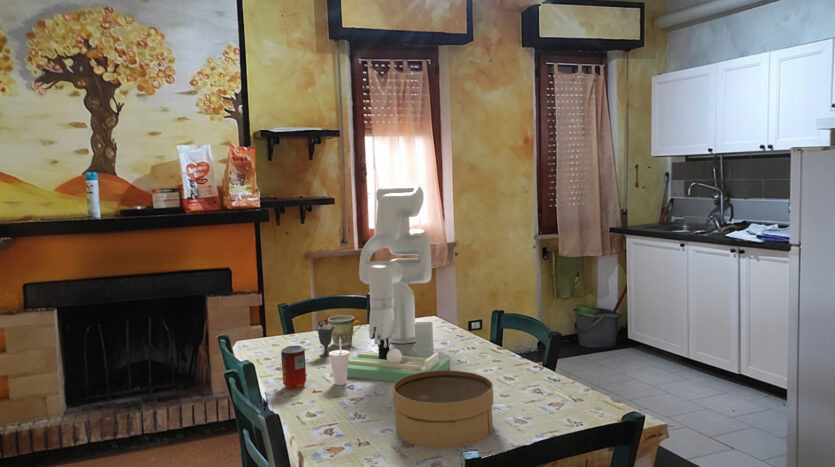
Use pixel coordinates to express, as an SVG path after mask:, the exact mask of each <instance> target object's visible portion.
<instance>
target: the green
mask: <svg viewBox="0 0 835 467" xmlns="http://www.w3.org/2000/svg"><path fill="white" fill-rule="evenodd" d="M439 354H440V353H439V352H434V354H433V355H432V356H431V357H419V356H416V355H407V354H406V355H404V354H402V360H401V362H400V363H398V364H395V363H389V362H388V361H387V360H383V359H379V352H367V351H362V352H358V353H357V354H356V355H355V356H352V357H351V358H350V359H349V358H348V372H347V378H351V379H352V378H354V379H361V380H363V379H365V380H372V381H373V380H375V381H384V382H392V383H393V382H394V383H396V382H397V381H398V380H400V379H401V378H404V377H406V376H409V375H412V374H416V373H421V372H428V371H442V370H445V371H449V369H451V359H450V358H442V357H441V358H440V357H439V356H440V355H439Z"/></svg>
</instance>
